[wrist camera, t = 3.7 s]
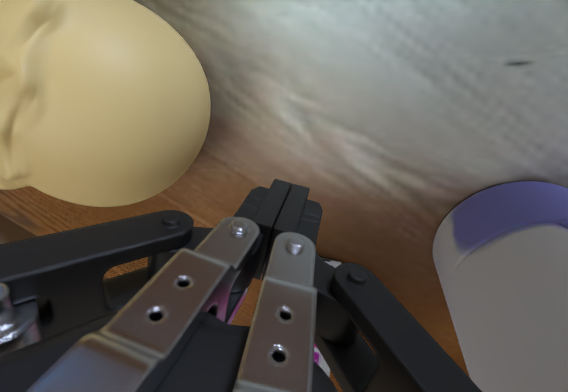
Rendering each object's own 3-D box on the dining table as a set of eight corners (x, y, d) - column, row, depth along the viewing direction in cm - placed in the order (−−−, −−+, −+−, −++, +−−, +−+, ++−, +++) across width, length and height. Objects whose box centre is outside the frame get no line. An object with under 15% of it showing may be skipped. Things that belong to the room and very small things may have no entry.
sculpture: (92, -53, 19) (-161, -130, 10) (259, 65, 20) (173, 96, 11) (56, 107, 25) (-129, 154, 16) (189, 194, 26) (92, 288, 17)
